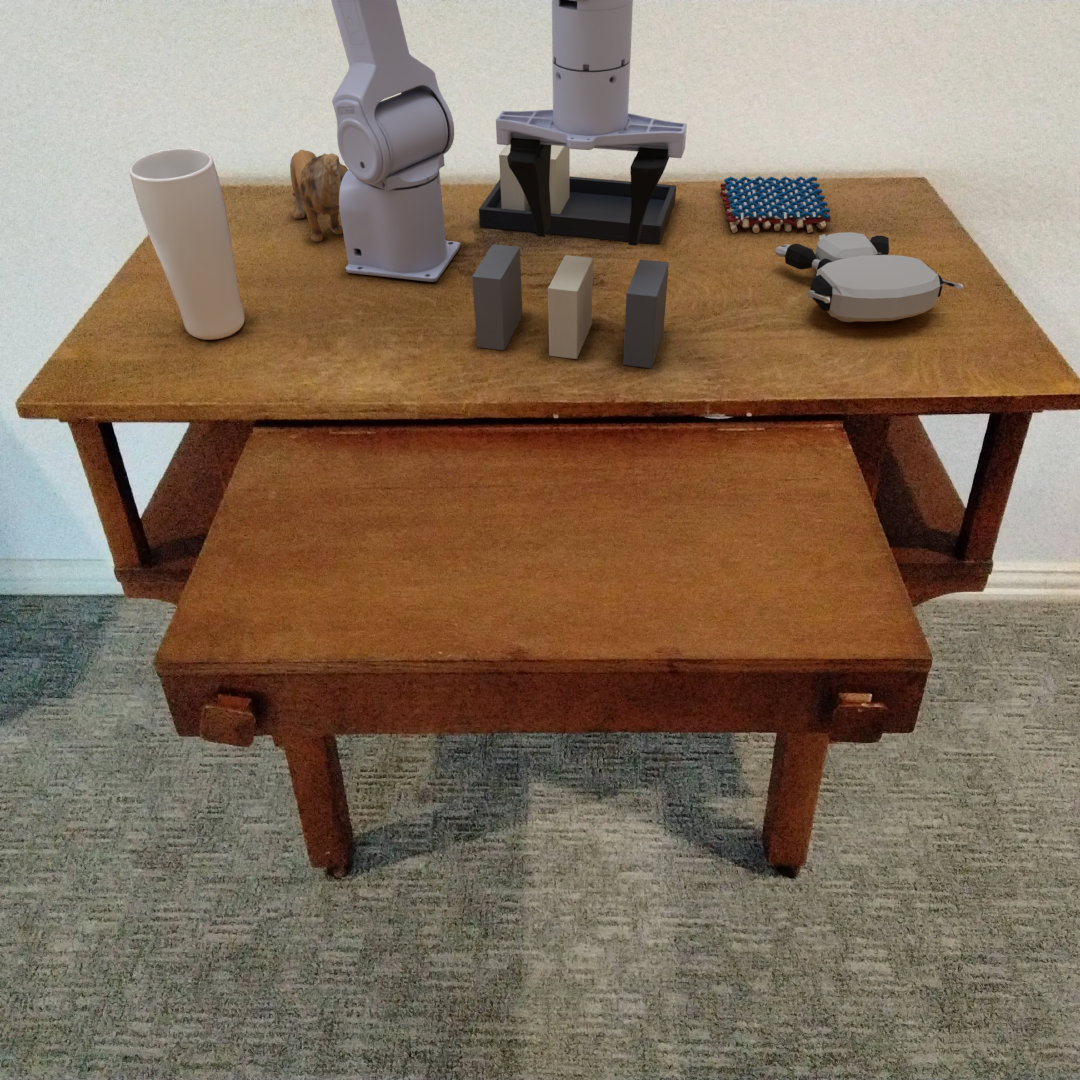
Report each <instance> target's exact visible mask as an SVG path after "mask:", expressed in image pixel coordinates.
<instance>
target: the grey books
mask: <svg viewBox="0 0 1080 1080" xmlns="http://www.w3.org/2000/svg"><path fill="white" fill-rule="evenodd" d="M521 265H522V264H521V246H514V245H505V244H495V243H493V244H491V246H490V247H489V249H488V250H487V252H486V254H485V255H484V257H483V259H482V260H481V262H480V263H479V265H478V266H477V267H476V269H475V271H474V272H473V274H472V275H471V282H472V295H473V297H472V298H473V308H474V321H475V335H476V348H481V349H490V350H498V351H505V350H506V348H507V347H508V344H509V343H510V341H511V339H512V338H513V335H514V333H515V331H516V329H517V328H518V325H519V324H520V322H521V320H522V318H523V296H522V295H523V294H522V293H523V292H522V270H521V269H522V266H521ZM668 277H669V261H661V260H652V259H651V260H650V259H642V258H641V259H639V260H638V262H637V265H636V268H635V271H634V272H633V275H632V278H631V280H630V283H629V285H628V288H627V291H626V295H625V313H624V315H625V316H624V334H623V335H624V340H623V361H622V364H623V366H628V367H635V368H645V369H653V367H654V364H655V360H656V357H657V354H658V352H659V348H660V344H661V341H662V338H663V336H664V331H665V320H666V319H665V317H666V303H667V291H668Z"/></svg>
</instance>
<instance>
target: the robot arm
mask: <svg viewBox="0 0 1080 1080" xmlns="http://www.w3.org/2000/svg"><path fill="white" fill-rule="evenodd" d="M330 1H331V6H332V10H333V12H334V16H335V19H336V23H337V26H338V31H339V33H340V38H341V42H342V45H343V48H344V52H345V56H346V58H347V63H348V66H349V67H348V70H347V72H346V73H345V76H344V77H343V79H342V81H341V82H340V85H339V86H338V88H337V89H336V91H335V93H334V95H333V97H332V100H331V103H332V106H333V109H334V113H335V118H336V139H337V141H336V142H337V148H338V151H339V154H340V156H341V158H342V162H343V163H344V165H345V166H346V167H347V169H348V171H347V172H346V173H345V175H344V177H343V179H342V182H341V185H340V192H339V216H340V221H341V226H342V228H343V233H342V234H343V241H344V246H345V252H346V259H347V262H348V263H347V265H346V266H345V272H346V273H347V274H348V273H349V274H356V275H366V276H374V277H382V278H383V277H384V278H391V279H392V278H393V279H401V280H410V281H421V282H428V283H435V282H437V281H438V280H439V279H440V277H441V276H442V274H443V273H444V272H445V270H446V268H447V267H448V266H449V265H450V263H451V262H452V260H453V258H454V257H455V256H456V254H457V253H458V251H459V250H460V249H461V243H460V242H459V241H453V240H446V228H445V217H444V207H443V196H442V195H443V194H442V185H441V183H442V182H441V173H440V170H441V168H443V167H445V154H446V153H447V152H449V150H450V149H451V148H452V146H453V143H454V140H455V124H454V119H453V115H452V112H451V110H450V107H449V106H448V104H447V102H446V100H445V98H444V97H443V95H442V93H441V90H440V88H439V84H438V81H437V77H436V72H435V71H434V69H432V68H431V67H430V66H427V64H424V63H423V62H421V61H420V60H418V59H417V58H415V57H414V56H412V55H411V53H410V51H409V46H408V43H407V39H406V33H405V30H404V26H403V22H402V19H401V14H400V10H399V7H398V6H399V5H398V3H397V2H398V1H397V0H330ZM633 8H634V0H551V47H552V48H551V50H552V51H551V53H552V55H551V57H552V60H551V61H552V62H551V63H552V64H551V65H552V69H551V70H552V109H541V110H521V111H520V110H502V111H501V113H499V115H498V116H497V118H496V119H495V134H496V144H497V145H502V146H506V145H510V144H511V148H510V153H509V154H508V156H507V160H508V165H509V168H510V169H511V171H512V172H513V174H514V175H515V177H516V179H517V180H518V182H519V184H520V186H521V188H522V190H523V192H524V194H525V197H526V199H527V202H528V204H529V207H530V210H531V213H532V217H533V220H534V224H535V228H536V232H535V233H536V236H537V237H541V238H545V237H546V236H547V232H548V230H549V228H550V224H551V205H550V189H549V178H550V158H551V145H557V146H567V147H568V148H570V150H578V151H579V150H581V151H592V150H593V149H598V150H599V149H600V150H611V151H612V150H613V151H624V152H625V151H626V152H637V153H636V155H635V156H634V158H633V160H632V163H631V165H630V169H629V170H630V172H629V173H630V182H631V215H630V224H629V232H628V241H627V242H628V243H627V244H628V246H637V245H638V244H639V242H638V241H639V239H640V236H641V230H642V224H643V220H644V216H645V212H646V209H647V205H648V202H649V200H650V197H651V195H652V193H653V191H654V189H655V187H656V185H657V184H659V181H660V179H661V178H662V176H663V174H664V172H665V169H666V167H667V164H668V163H669V160H670V158H671V159H682V158H683V155H684V153H685V150H686V141H687V140H686V139H687V130H688V129H687V128H688V124H687V123H686V122H677V121H669V120H664V119H658V118H654V117H650V116H649V117H648V116H644V115H639V114H634V113H629V103H630V102H629V101H630V99H629V98H630V77H631V57H632V56H631V55H632V34H633V33H632V32H633V31H632V30H633Z"/></svg>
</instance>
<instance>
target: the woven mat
mask: <svg viewBox="0 0 1080 1080" xmlns="http://www.w3.org/2000/svg"><path fill="white" fill-rule="evenodd" d="M817 180H818V177H816V176H810V177H807V176H805V177H803V176H802V175H798V177H792V178H789V177H788V176H786V175H784V176H783V177H781V176H779V177H777V178H776V177H774V176H769V177H767V176H766V177H765V176H764V177H762V176H760V175H758V176H757V177H754V176H753V177H752V178H749V177H747V176H746V175H745V176H742V177H740V176H738V177H736V178H735V177H734V176H728V177H727V178H726V177H725V178H724V179H723V181H724V183H720V193H719V195H720V196H722V197H721V201H722V202H723V203H724V206H725V210H726V211H725V212H724V215H725V216H726V220H727V222H728V223H729V227H730V230H731V231H732V234H735V233H737V232H738V231H739V229H738V226H737V225H740V226H741V227H742V228H743V229H748V228H750V227H751V229H752V232H753V233H754V234H758V233H759V232H760V225H759V224H761V225H762V228H763V229H764V230H768V229H770V228H771V226H772V224H773V229H774V231H775V232H779V231H780V229H781V227H782V226H781V225H783V228H784V231H786V232H791V231H792V226H793V227H795V228H797V229H803V228H804V226H805V228H806V231H807V234H809V233H813V232H814V228H813V224H816V227H817V228H818V229H820V230H823V229H825V228H826V227H827V223H831V219H832V218H831V214H830V213H831V209H830V208H828V207H827V206H828V204H829V203H828V201H823V200H825V198H826V196H825V195H822V192H823V189H821V188H820V185H821V184H820V183H819V182H817Z"/></svg>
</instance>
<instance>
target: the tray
mask: <svg viewBox="0 0 1080 1080" xmlns="http://www.w3.org/2000/svg"><path fill="white" fill-rule="evenodd" d="M676 194H677V185H675V184H664V183H657V185H656V187H655V189H654V191H653V193H652V195H651V197H650V200H649V202H648V205H647V209H646V212H645V216H644V220H643V224H642V230H641V236H640V239H639V241H638V244H639V243H640V244H649V245H650V244H652V245H661V242H662V240H663V236H664V234H665V232H666V228H667V226H668V223H669V221H670V218H671V215H672V213H673V210H674V207H675V204H676V197H677V195H676ZM630 215H631V180H629V181H628V180H617V179H606V178H605V179H604V178H594V177H584V176H583V177H582V176H581V177H580V176H570V196H569V199H568V201H567V203H566V204H565V206H564V208H563V210H562V212H561V213H560V214H553V213H551V224H550V228H549V230H548V232H547V234H549V235H558V236H559V235H560V236H569V237H579V238H590V239H599V240H609V241H621V242H628V232H629V224H630ZM478 217H479V227H480V228H486V229H487V228H488V229H496V230H506V231H518V232H528V233H536V228H535V224H534V220H533V217H532V213H531V210H530V209H529V211H521V210H510V209H502V205H501V184H500V179H498V181H497V183H496V184H495V185H494V186H493V189H492V190H491V191H490V193H489V194H488V195H487V197H486V198H485V200H484V201H483V202H482V203H481V205H480V207H479V208H478ZM547 234H546V235H547Z"/></svg>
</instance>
